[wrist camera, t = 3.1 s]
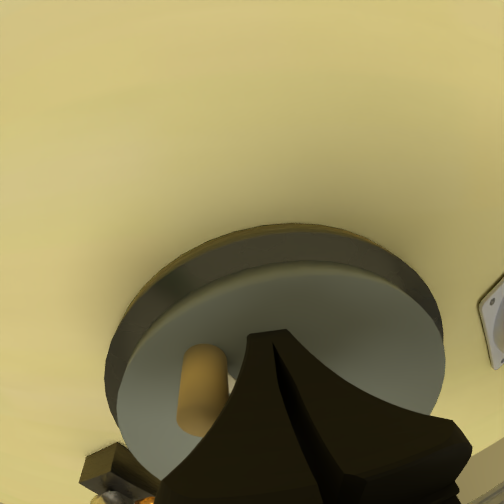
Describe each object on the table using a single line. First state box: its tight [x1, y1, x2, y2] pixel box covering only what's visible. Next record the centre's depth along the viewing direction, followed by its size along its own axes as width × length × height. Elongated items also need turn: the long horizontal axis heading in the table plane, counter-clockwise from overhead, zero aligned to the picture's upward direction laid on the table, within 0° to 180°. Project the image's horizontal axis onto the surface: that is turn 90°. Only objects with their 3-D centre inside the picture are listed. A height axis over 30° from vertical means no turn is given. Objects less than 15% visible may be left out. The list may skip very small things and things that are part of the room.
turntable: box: [116, 260, 445, 480], centre depth 12 cm, size 16×16×4 cm
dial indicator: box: [79, 442, 161, 504], centre depth 15 cm, size 6×5×6 cm
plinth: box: [104, 223, 443, 429], centre depth 15 cm, size 18×18×2 cm
